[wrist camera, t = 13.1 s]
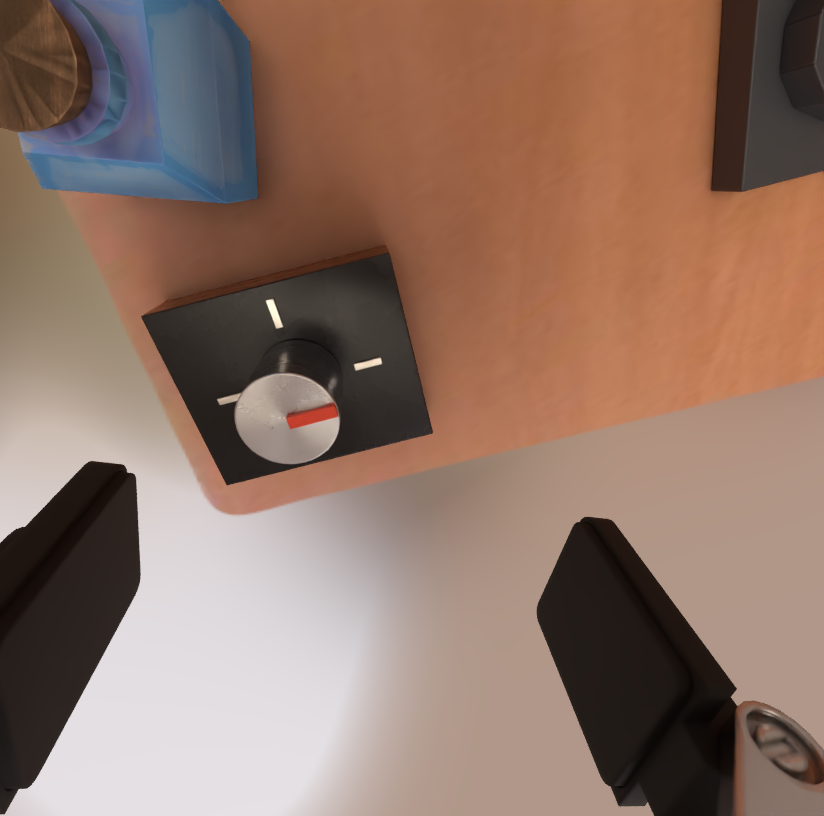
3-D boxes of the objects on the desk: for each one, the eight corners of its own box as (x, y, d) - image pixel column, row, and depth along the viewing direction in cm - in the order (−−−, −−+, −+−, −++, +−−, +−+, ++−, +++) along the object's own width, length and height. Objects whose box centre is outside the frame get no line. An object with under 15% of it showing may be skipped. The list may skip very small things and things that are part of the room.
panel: (164, 301, 24) (138, 317, 21) (385, 244, 24) (389, 252, 21) (238, 457, 29) (225, 487, 26) (426, 410, 29) (433, 435, 26)
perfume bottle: (258, 198, 23) (167, 212, 12) (122, 187, 22) (-106, 191, 11) (249, 41, 20) (123, -122, 9) (94, 22, 19) (-239, -181, 8)
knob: (274, 427, 25) (256, 479, 20) (241, 352, 23) (214, 391, 19) (353, 407, 25) (352, 454, 20) (328, 329, 23) (320, 363, 18)
